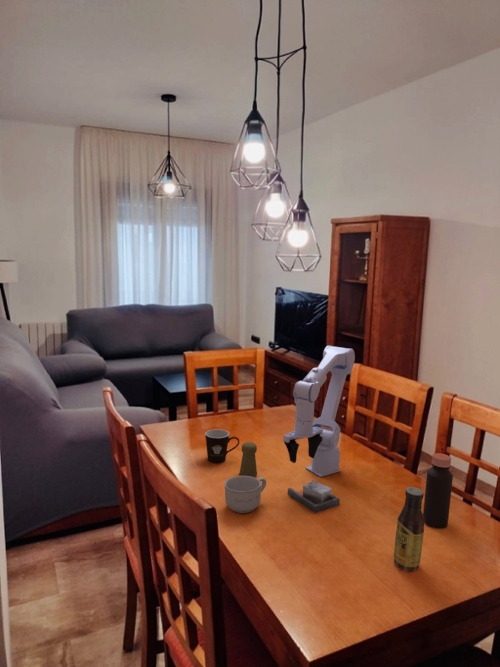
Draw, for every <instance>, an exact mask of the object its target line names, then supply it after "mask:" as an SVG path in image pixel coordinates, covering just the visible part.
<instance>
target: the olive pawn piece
mask: <svg viewBox="0 0 500 667" xmlns="http://www.w3.org/2000/svg"><path fill="white" fill-rule="evenodd" d="M257 451H258V446H257V445H256V443H254V442H251V441H246V442H244V443H243V444H242V445H241V452H242V458H241V464H240V470H239V476H250V477H254V478H256V477H257V476H258V469H257V459H256V453H257Z"/></svg>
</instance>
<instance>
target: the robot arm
mask: <svg viewBox="0 0 500 667" xmlns="http://www.w3.org/2000/svg"><path fill="white" fill-rule="evenodd" d="M355 354H356V353H355V351H354V348H348V347H347V348H346V347H339V346H334V345H327V346H325V348H324V350H323V352H322V359H321V361H320V363H319V364H318V366H317V367H313V368H312V369H311V370H310V371H309V372H308V373H307V375H306V376H305V377H304V378H303V379H302V380H299V381H297V382H295V384H294V386H293V390H292V396H293V398H294V404H295V418H294V420H295V422H294V428H293V430H292V431H291V432H288V433H287V434H286V433H285V434H283V440H282V441H283V443H284V445H285V447H286V449H287V452H288V457H289V461H290V462H291V463H293V464H295V463H296V462H297V455H298V454H297V453H298V450H299V447H300V444H299V443H297V441H296V440H300V439H302V440H303V439H307V444H308V448H307V449H308V450H307V453H308V457H309V458H311V463H310V464H311V465H307V466H306V467H305V468H306V470H308V471H310V472H311V473H313V474H315V475H316V476H318V477H320V478H322V477H325V476H328V475H332V474H335V473H339V472H341V469H340V460H341V459H340V457H341V452H340V448H339V447H338V445H339V443H340V439H341V438H340V436H341V435H340V434H341V427H340V425H339V424H338V423H337V422H336V416H337V413H338V412H337V411H338V409H339V406H340V405H339V404H340V401H341V397H342V393H343V390H344V386H345V382H346V379H347V376H348V375H351V373H352V371H353V369H354V364H355V359H356V357H355V356H356V355H355ZM329 372H330V373H331V377H330V381H329V384H328V388H327V391H326V392H327V393H326V396H325V399H324V403H323V406H322V411H321V413H320V414H321V415H320V416H319V417H317V418H316V419H314V418H315V416H314V415H315V401H316V400H317V398H318V396H319V393H320V391H321V389H320V388H322V386H323V385H324V383H326V381H327V378H328V377H327V374H328V373H329Z"/></svg>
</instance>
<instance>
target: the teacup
mask: <svg viewBox="0 0 500 667" xmlns="http://www.w3.org/2000/svg"><path fill="white" fill-rule="evenodd" d="M223 485H224V498H225V504H226V506H228V508H229V509H230V510H231V511H233V512H235V513H238V514H246V513H250V512H253V511H254V510H255V509H256V508H258V507H259V505H260V502H261V499H262V498H261V497H262V496H261V494H262V492H263V491H264V489H265V488H266V487H267V486H266V485H267V480H266V478H264V477H262V476H259V477H258V478H256V477H250V476H240V475H237V476H232V477H229V478H228V479H226V480H225V481H224V483H223Z"/></svg>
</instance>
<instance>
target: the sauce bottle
mask: <svg viewBox="0 0 500 667" xmlns="http://www.w3.org/2000/svg"><path fill="white" fill-rule="evenodd" d="M404 495H405V501H404V505H403V507H402V509H401V511H400V513H399V514H398V517H397V521H396V532H395V538H394V549H393V563H394V565H395V566H396V567H397V568H398V569H400V571H404V572H409V573H410V572H415V571H418V570H419V568H420V563H421V559H422V558H421V556H422V549H423V542H424V533H425V523H424V522H425V519H424V515H423V510H422V504H423V503H422V502H423V499H424V496H425V492H424V491H423V490H422V489H421V488H420V487H419V488H417V487H416V486H415V487H414V486H413V487H412V486H408V487H406V489H405V493H404Z"/></svg>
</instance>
